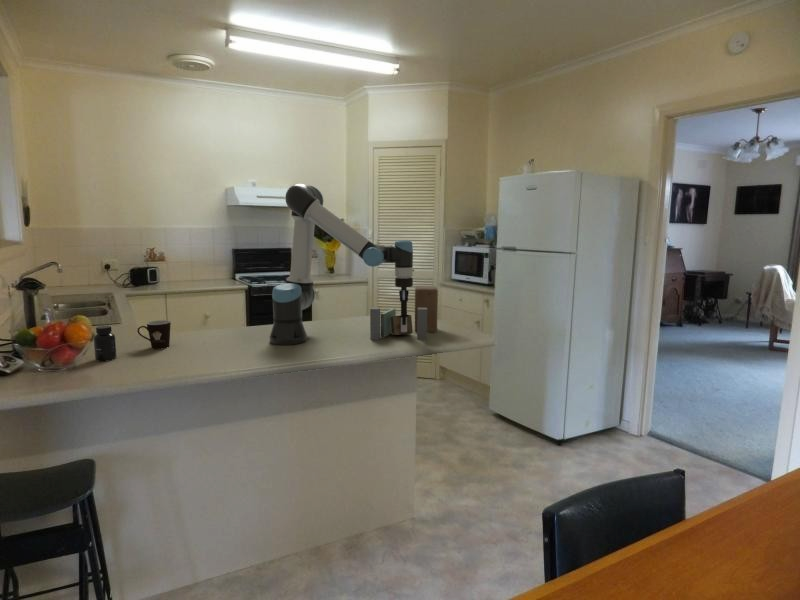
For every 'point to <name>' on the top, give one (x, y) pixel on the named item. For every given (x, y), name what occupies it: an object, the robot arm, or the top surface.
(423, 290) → the wooden block
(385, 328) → the gate
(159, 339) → the coffee mug
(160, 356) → the top surface
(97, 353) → the supplement bottle
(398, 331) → the brown rectangular block
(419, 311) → the post
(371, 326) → the hinge post
